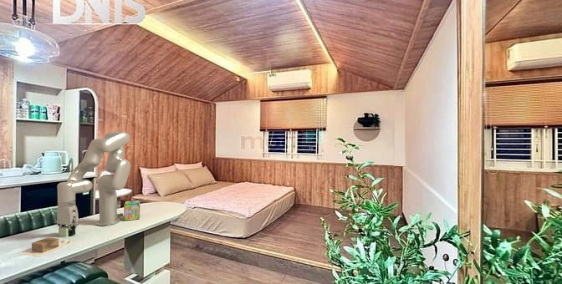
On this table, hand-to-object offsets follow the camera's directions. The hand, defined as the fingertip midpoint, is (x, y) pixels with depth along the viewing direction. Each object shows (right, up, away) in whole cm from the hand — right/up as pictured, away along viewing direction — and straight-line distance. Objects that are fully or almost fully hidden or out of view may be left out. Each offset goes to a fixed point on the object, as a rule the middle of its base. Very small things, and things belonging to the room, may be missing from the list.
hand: (67, 235), depth 142 cm
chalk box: (+18, 0, +32) cm, 36 cm away
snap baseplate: (+4, -1, -16) cm, 16 cm away
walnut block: (+4, 0, -18) cm, 18 cm away
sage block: (0, -1, 0) cm, 1 cm away
